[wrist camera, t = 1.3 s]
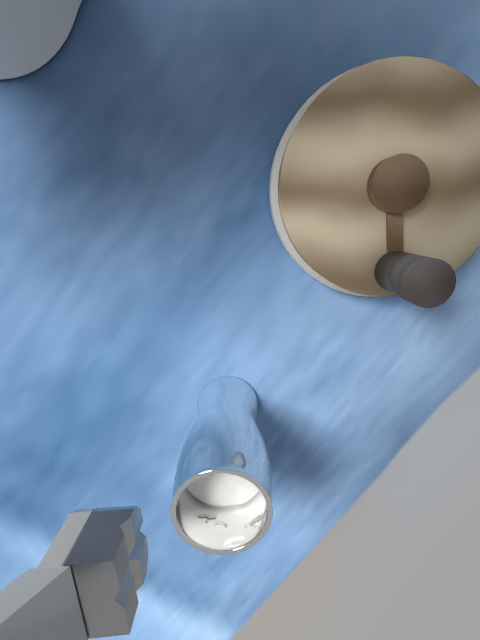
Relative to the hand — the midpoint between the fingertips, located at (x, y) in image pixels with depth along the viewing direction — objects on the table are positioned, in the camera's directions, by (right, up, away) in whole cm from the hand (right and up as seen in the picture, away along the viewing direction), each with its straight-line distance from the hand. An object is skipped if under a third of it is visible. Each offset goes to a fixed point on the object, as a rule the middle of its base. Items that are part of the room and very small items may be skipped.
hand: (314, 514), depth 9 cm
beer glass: (-3, -4, +30) cm, 31 cm away
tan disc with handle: (+10, +15, +22) cm, 28 cm away
